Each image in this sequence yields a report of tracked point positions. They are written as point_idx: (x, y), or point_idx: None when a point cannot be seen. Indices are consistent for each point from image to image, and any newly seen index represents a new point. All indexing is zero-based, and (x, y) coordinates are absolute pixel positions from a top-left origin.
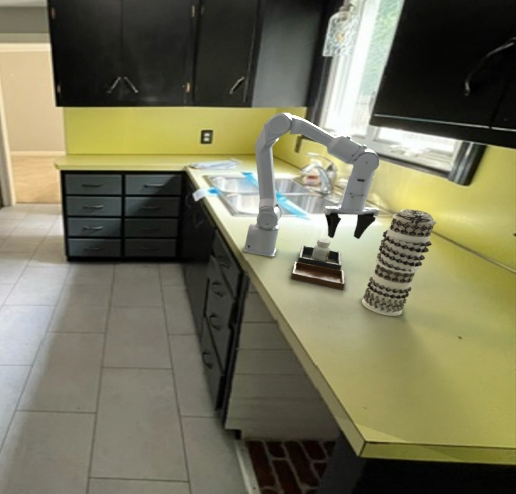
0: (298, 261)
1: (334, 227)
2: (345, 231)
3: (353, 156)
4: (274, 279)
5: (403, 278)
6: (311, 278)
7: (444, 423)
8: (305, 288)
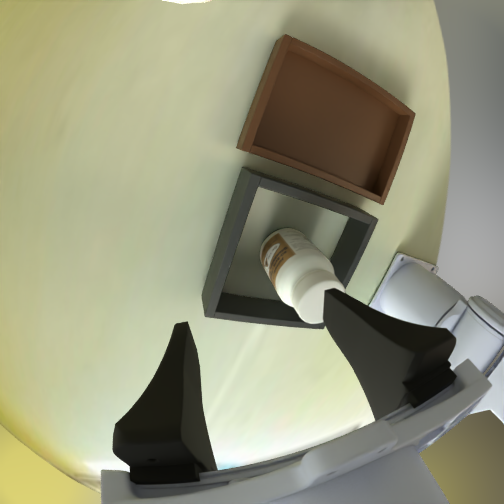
0: (368, 213)
1: (378, 317)
2: None
3: None
4: (432, 110)
5: None
6: (372, 84)
7: None
8: (381, 55)
